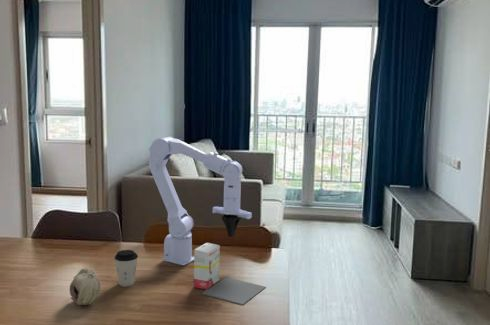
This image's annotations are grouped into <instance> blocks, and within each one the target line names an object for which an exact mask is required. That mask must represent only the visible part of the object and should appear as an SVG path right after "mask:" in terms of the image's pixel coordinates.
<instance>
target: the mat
mask: <svg viewBox="0 0 490 325" xmlns="http://www.w3.org/2000/svg"><path fill="white" fill-rule="evenodd" d="M265 289H266V286H265V285H259V284H257V283H256V284H255V283H252V282H248V281H244V280H239V279H236V278H232V277H224V279H221V281H220V280H219V281H217V282H216V283H215V284H214V285H212V286H211V287H210V288H209V289H207V290H206V289H205V290H204V291H203V292H202V293H201V295H204V296H208V297H212V298H214V299H220V300H222V301H226V302H230V303H233V304H237V305H241V306H244V305H245V304H246V303H248V302H249V301H251V300H252V299H253V298H254V297H256V296H257V295H258V294H260V293H261V292H262V291H264V290H265Z"/></svg>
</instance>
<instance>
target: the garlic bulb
mask: <svg viewBox="0 0 490 325" xmlns="http://www.w3.org/2000/svg"><path fill="white" fill-rule="evenodd" d="M68 290H69V294H70V296H71V297H70V299H71V301H73V303H75V304H77V306H86V305H89V306H90V305H91V304H92V303H93V302H94V301H95V299H96V298H97V297H98V295H99V292H100V290H101V281H100V278H98V277H97V275H95V271H94V270H92V269H91V268H86V267H83V268H81V269H80V270H79V271H78V273H77V274H76V275H74V277H73V280H72V281H71V283H70V285H69V289H68Z"/></svg>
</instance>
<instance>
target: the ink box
mask: <svg viewBox="0 0 490 325" xmlns="http://www.w3.org/2000/svg"><path fill="white" fill-rule="evenodd" d="M220 248H221V245H219V244H215V243H211V242H205V243H204V244H202V245H200V246H198V247H196V248H194V254H193V257H194V261H193V287H194V288H197V289H201V290H205V291H206V290H207V289H209V288H211V287H212V286H214V285H215V284H217V283H218V282H219V281H220Z"/></svg>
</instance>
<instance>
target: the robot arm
mask: <svg viewBox="0 0 490 325" xmlns="http://www.w3.org/2000/svg"><path fill="white" fill-rule="evenodd" d="M148 151H149V160H148V166H149V171H150V172H151V173H150V174H151V175H152V177H153V179H154V182H155V185H156V186H157V190H158V192H159V195H160V197H161V198H162V202H163V204H164V206H165V209H166V212H167V223H168V233H169V234H167V235H166V236H165V238H164V242H163V258H162V261H163V262H166V263H167V262H168V263H171V264H176V265H180V266H186V265H187V264H190V263H191V262H194V256H193V254H192V252H193V250H192V248H193V242H192V239H193V238H192V236H193V235H192V234H193V233H192V231H191V230H192V229H193V227H194V225H195V224H194V223H195V222H194V219H193V218H192V216H190V215H189V214H188V212H187V210H186V209H185V208H184V207H183V206H182V203H181V200H180V198H179V195H178V193H177V192H176V189H175V186H174V183H173V181H172V179H171V176H170V173H169V172H168V169H167V166H166V165H167V163H168V161H169V159H170V158H171V156H172V155H179V154H182V155H184V156H186V157H188V158H191V159H194V160H196V161H199V162H201V164H202V165H203V168H206V169H207V170H210V171H212V172H214V173H216V174H218V175H221V176H222V177H223V178H224V183H223V206H213V207H212V214H221V215H222V217H221V220H222V221H223V223H224V225H225V229H226V233H227V237H229V238H232V237H235V234H236V230H237V227H238V225H239V223H240V221H241V219H242V218H243V219H246V220H251V219H252V217H253V216H252V215H253V214H252V212H251V211H248V210H243V209H241V197H242V196H241V194H242V193H241V192H242V191H241V189H242V184H241V182H242V179H241V178H242V177H241V175H242V174H243V166H242V164H241V163H239V162H238V161H237V160H232V159H231V158H226V157H223V156H222V155H219V152H218V151H214V152H213V151H210V152H208V153H206V152H204V151H202V150H200V149H198V148H197V147H194V146H193V145H191V144H188V143H187V142H185V141H182V140H181V139H178V138H174V137H173V136H169V135H167V136H164V137H161V138H156V139H154V140H153V141H152V143H151V145H150V146H149V149H148Z"/></svg>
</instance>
